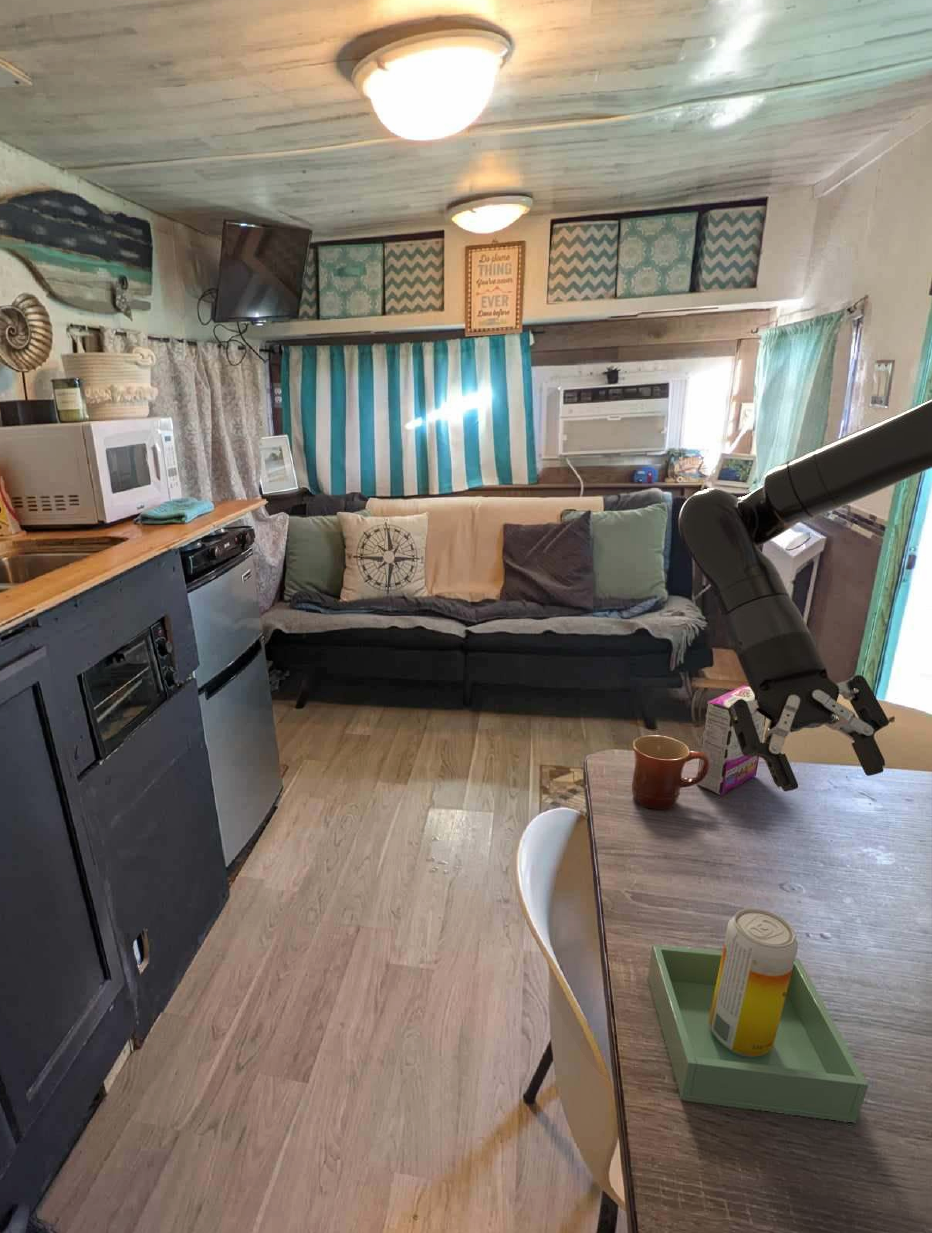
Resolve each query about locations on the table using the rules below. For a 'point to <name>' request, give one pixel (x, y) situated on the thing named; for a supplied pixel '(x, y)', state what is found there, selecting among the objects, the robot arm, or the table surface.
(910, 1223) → the table surface
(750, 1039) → the beer can
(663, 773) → the mug
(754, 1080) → the green serving tray
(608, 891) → the table surface
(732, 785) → the candy bar box
